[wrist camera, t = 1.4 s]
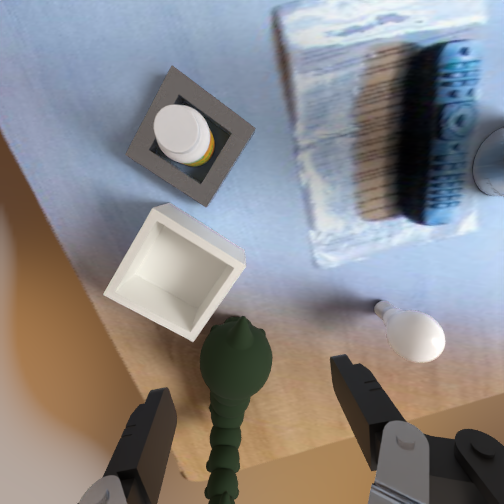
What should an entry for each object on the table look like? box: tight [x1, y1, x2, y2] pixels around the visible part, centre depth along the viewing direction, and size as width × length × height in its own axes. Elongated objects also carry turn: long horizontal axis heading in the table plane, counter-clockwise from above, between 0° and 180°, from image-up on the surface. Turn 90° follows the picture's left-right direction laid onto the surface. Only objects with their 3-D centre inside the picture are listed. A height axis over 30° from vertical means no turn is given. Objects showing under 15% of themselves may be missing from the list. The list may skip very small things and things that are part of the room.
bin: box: [103, 203, 246, 342], centre depth 32 cm, size 12×12×7 cm
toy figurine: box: [200, 316, 272, 504], centre depth 32 cm, size 9×19×25 cm
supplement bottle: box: [154, 105, 215, 167], centre depth 27 cm, size 5×5×10 cm
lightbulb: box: [374, 301, 445, 363], centre depth 34 cm, size 6×6×11 cm
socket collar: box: [125, 66, 256, 207], centre depth 31 cm, size 11×11×2 cm
